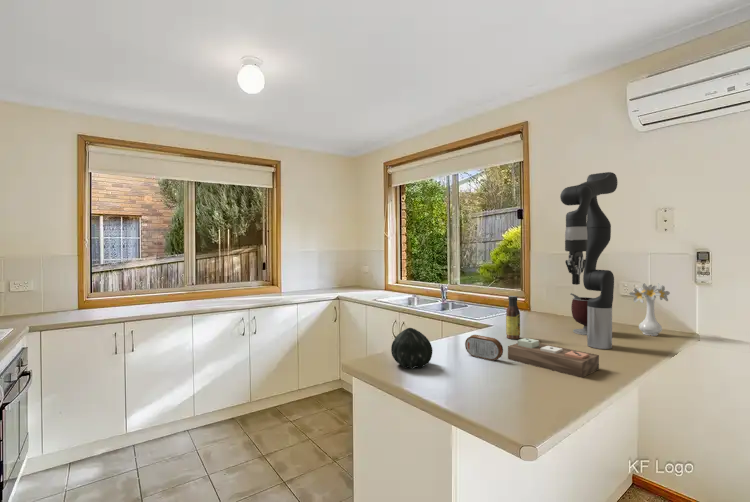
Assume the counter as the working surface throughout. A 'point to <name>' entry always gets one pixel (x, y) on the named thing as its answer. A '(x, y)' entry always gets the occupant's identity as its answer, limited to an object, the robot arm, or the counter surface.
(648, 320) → the flower vase
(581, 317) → the mate gourd
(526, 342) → the two dot button
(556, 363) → the console
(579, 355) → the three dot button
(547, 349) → the one dot button
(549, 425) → the counter surface
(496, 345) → the tin
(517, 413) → the counter surface
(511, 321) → the sauce bottle
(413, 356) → the squash
